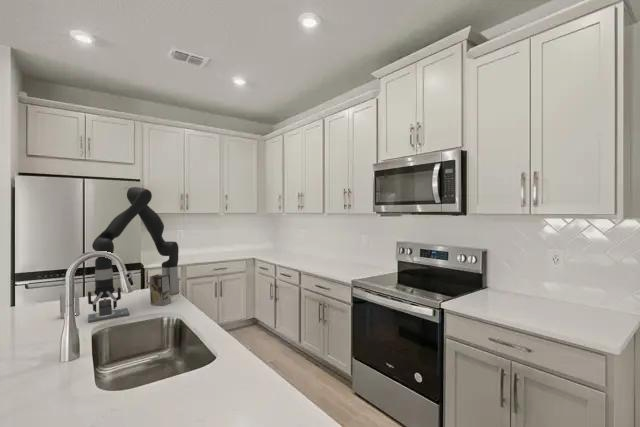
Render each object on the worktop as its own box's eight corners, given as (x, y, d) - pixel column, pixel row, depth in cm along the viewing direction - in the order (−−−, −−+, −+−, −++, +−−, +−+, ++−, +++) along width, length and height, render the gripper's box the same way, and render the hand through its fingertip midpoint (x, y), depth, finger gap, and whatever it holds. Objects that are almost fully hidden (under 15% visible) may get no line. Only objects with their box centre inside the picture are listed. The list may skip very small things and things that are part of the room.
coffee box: (171, 302, 184) (170, 274, 183) (163, 305, 178) (162, 277, 177) (158, 301, 186) (157, 274, 186) (149, 304, 180) (148, 276, 180)
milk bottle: (83, 313, 167) (82, 275, 167) (70, 318, 159) (69, 278, 159) (70, 313, 168) (68, 275, 167) (56, 318, 160) (55, 278, 160)
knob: (111, 314, 161) (111, 299, 161) (99, 316, 158) (98, 301, 157) (111, 311, 165) (110, 297, 165) (99, 313, 162) (98, 299, 162)
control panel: (127, 310, 172) (127, 301, 171) (129, 315, 163) (129, 306, 163) (88, 316, 162) (88, 308, 161) (88, 323, 153) (88, 314, 153)
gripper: (86, 281, 154) (87, 315, 154) (121, 276, 162) (122, 309, 162) (86, 278, 160) (87, 311, 160) (120, 274, 168) (121, 305, 168)
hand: (105, 309), depth 161 cm, fingers open, 7 cm apart
